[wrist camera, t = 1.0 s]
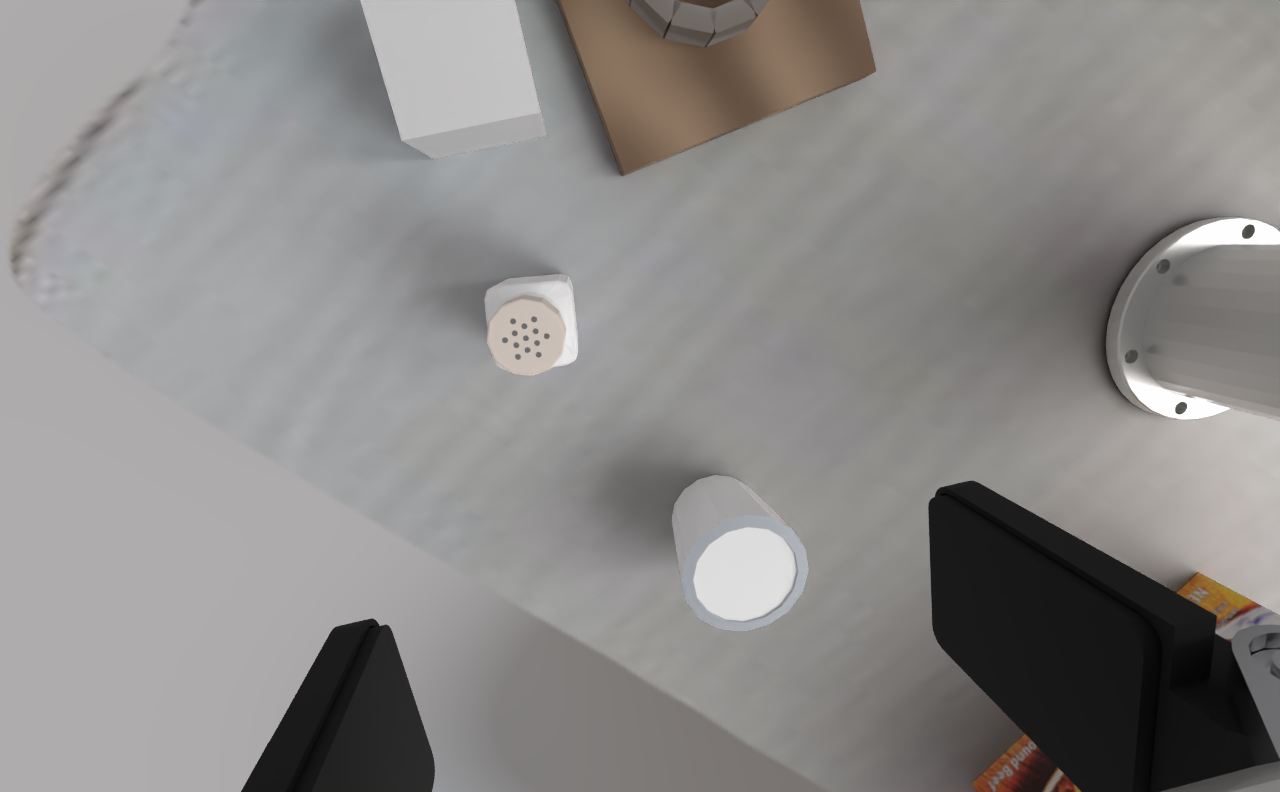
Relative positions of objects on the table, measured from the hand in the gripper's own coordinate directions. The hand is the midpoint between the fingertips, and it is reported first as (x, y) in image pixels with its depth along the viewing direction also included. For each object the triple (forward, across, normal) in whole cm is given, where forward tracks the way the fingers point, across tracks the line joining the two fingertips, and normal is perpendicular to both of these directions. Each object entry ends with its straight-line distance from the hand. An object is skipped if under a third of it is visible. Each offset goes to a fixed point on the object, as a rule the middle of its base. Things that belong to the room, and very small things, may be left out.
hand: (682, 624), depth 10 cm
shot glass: (+25, -6, +12) cm, 28 cm away
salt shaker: (+25, +2, -3) cm, 26 cm away
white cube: (+26, +3, -15) cm, 30 cm away
